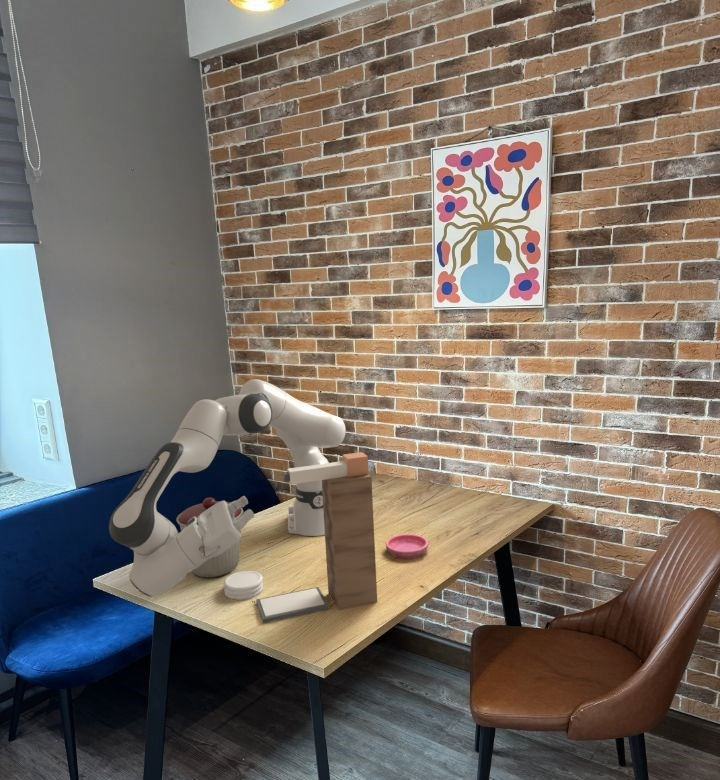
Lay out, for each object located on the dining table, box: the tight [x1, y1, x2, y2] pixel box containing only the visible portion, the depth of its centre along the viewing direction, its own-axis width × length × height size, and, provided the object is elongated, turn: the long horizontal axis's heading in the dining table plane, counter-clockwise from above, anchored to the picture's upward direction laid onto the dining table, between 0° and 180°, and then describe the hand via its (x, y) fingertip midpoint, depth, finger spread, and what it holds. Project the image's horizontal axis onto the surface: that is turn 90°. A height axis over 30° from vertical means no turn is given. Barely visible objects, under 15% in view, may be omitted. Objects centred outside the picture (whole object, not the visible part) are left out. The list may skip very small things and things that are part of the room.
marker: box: [282, 451, 370, 485], centre depth 142 cm, size 4×20×4 cm, turn 109°
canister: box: [176, 497, 244, 578], centre depth 167 cm, size 18×18×21 cm
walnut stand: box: [322, 473, 378, 611], centre depth 146 cm, size 9×10×32 cm
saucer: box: [385, 533, 429, 560], centre depth 173 cm, size 12×12×3 cm
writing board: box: [255, 586, 330, 624], centre depth 146 cm, size 10×16×1 cm, turn 109°
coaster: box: [223, 570, 264, 601], centre depth 155 cm, size 10×10×4 cm
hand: (249, 505), depth 137 cm, fingers open, 8 cm apart
